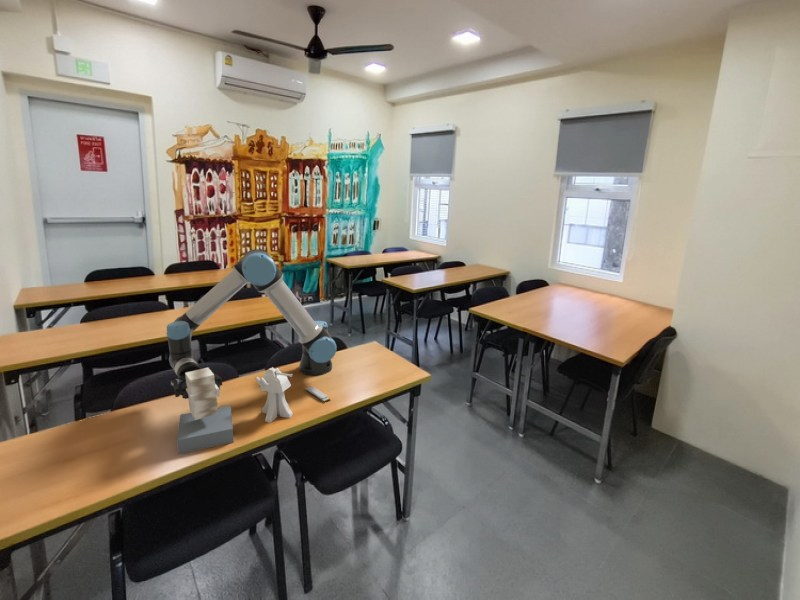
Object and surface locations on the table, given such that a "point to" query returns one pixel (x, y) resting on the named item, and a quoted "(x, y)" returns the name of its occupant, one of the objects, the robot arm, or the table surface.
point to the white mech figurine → (275, 394)
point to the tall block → (202, 393)
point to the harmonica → (317, 394)
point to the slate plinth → (205, 431)
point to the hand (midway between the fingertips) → (205, 396)
